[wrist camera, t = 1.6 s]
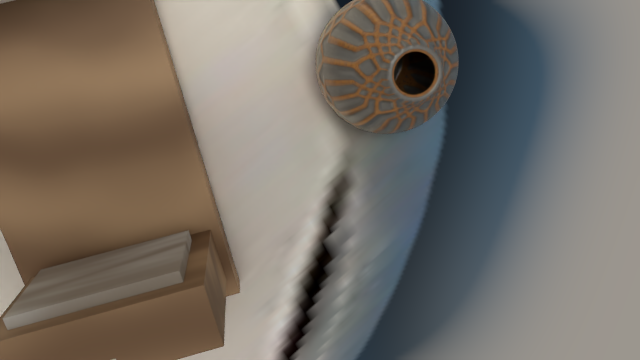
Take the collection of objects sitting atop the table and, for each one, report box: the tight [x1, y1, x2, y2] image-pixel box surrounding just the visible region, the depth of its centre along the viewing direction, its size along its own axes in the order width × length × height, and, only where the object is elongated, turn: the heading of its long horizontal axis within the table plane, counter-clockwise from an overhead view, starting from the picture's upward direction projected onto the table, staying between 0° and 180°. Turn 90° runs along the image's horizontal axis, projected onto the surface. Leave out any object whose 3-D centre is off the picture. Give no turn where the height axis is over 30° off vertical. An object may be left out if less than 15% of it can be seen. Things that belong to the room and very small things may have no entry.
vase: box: [315, 0, 458, 134], centre depth 28 cm, size 7×7×9 cm
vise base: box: [0, 0, 240, 360], centre depth 27 cm, size 22×11×8 cm, turn 13°
